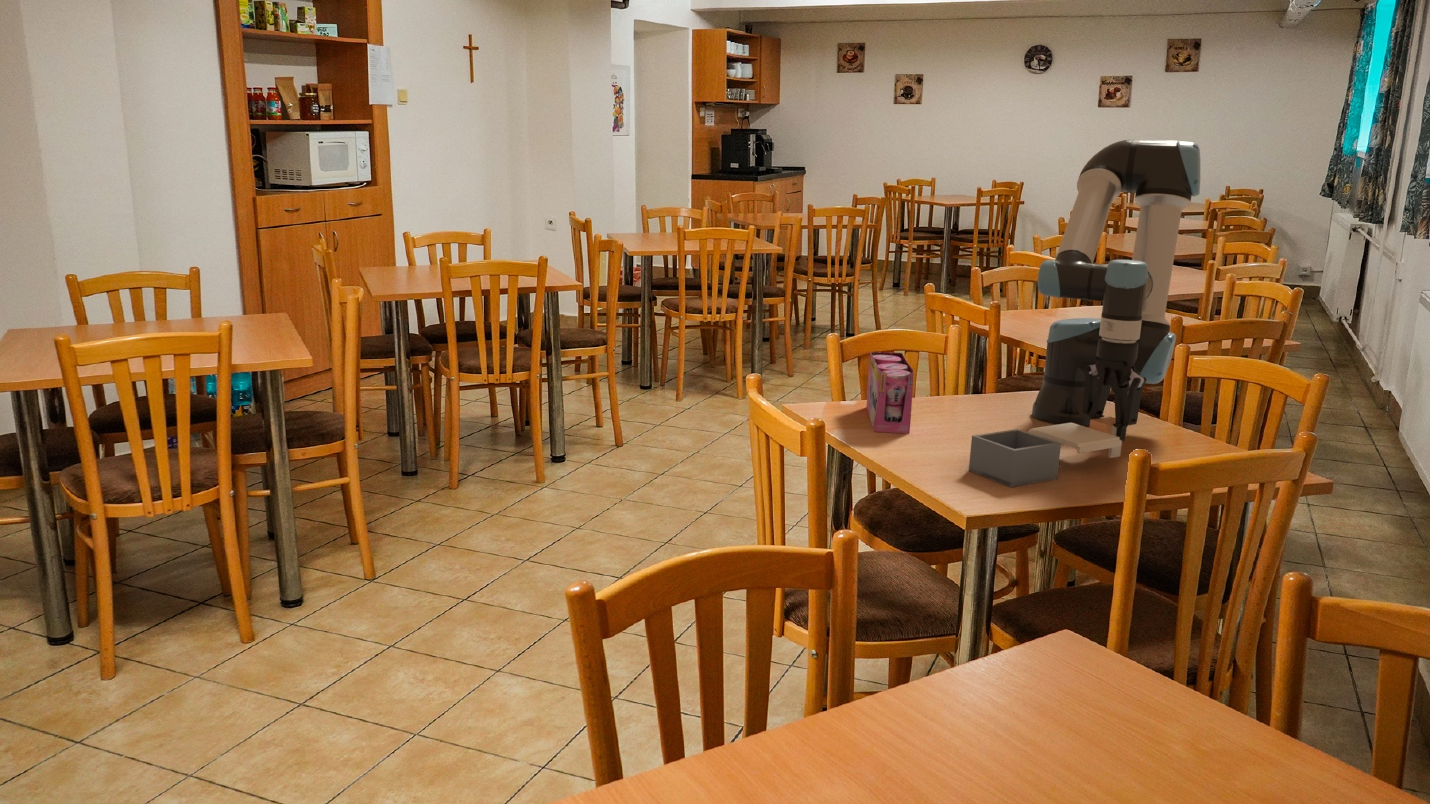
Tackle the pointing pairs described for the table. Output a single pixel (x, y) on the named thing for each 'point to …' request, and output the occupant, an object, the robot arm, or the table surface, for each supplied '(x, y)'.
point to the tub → (1014, 457)
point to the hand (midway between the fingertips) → (1104, 453)
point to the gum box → (889, 392)
